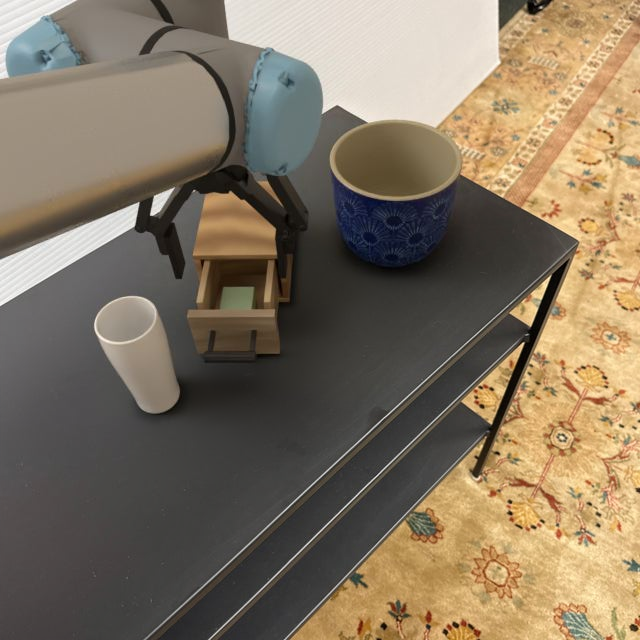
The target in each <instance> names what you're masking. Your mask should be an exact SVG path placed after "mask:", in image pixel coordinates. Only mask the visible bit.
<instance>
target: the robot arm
mask: <svg viewBox="0 0 640 640" xmlns="http://www.w3.org/2000/svg"><path fill="white" fill-rule="evenodd" d="M5 68H6V72H7V76H8V77H4V78H0V260H3V259H5V258H8V257H11V256H13V255H15V254H17V253H20V252H23V251H26V250H27V249H30V248H32V247H34V246H37V245H39V244H42V243H44V242H46V241H50V240H51V239H55V238H56V237H59V236H61V235H63V234H66V233H68V232H71V231H73V230H75V229H78V228H80V227H83V226H85V225H87V224H89V223H90V224H91V223H93V222H95V221H97V220H100V219H102V218H104V217H107V216H109V215H112V214H114V213H116V212H119V211H121V210H123V209H126V208H129V207H131V206H133V205H136V204H138V209H137V213H136V218H135V223H134V231H135V232H136V233H138V234H145V232H147V233H150V234H152V236H153V237H154V239H155V241H156V245H157V248H158V251H159V253H160V254H161V256H168V258H169V261H170V264H171V268H172V271H173V275H174V278H175V280H183V275H184V273H185V268H186V260H185V255H184V252H183V248H182V244H181V241H180V237H179V233H178V230H177V225H176V223H175V222H174V219H175V218H176V216H177V215H178V213H179V211H180V210H181V209H182V207H183V206H184V204H185V203H186V202H187V201H188V200H189V198H190V197H191V195H192V194H193V193H194V191H195V192H198V193H199V195H206V194H209V193H213V192H215V193H220V194H229V191H231V192H232V193H234V194H235V195H236V196H237V197H238V198H239V199H240V200H245V201H246V202H247V203H248V204H249V205H251V206H252V207H253V208H254V209H255V210H256V211H257V212H258V213H259V214H260V215H261V216H262V217H264V218H265V219H266V220H267V221H268V222H269V223H270V224H271V225H272V226H273V227H274V228H276V232H275V243H276V251H277V259H278V268H279V276H280V279H286V275H287V254H293V255H294V252H295V245H296V243H295V242H296V241H295V233H294V232H297V231H298V232H302V233H303V232H306V231H307V230H308V229H309V217H310V216H309V214H310V213H309V210H308V209H307V207H306V205H305V204H304V202H303V199H301V196H300V195H299V194H298V191H297V190H296V188H295V187H294V185H293V183H292V181H291V179H290V178H289V176H288V175H290V174H292V173H293V172H295V171H296V170H298V169H299V168H300V167H301V166H302V165H303V163H304V162H305V161H306V160H307V158H308V157H309V155H310V153H311V152H312V150H313V148H314V146H315V144H316V141H317V138H318V135H319V134H320V133H319V132H320V129H321V125H322V116H323V110H324V94H323V92H324V91H323V87H322V83H321V81H320V78H319V76H318V74H317V72H316V71H315V69H314V68H313V67H312V66H311V65H310V64H308V62H306V61H303V60H301V59H298V58H295V57H292V56H290V55H287V54H284V53H282V52H280V51H276V50H275V49H274V48H273V47H271V46H266V47H265V48H264V47H261V46H257V45H253V44H249V43H245V42H241V41H238V40H234V39H230V36H229V27H228V19H227V12H226V5H225V0H74V1H72V2H70V3H69V4H67V5H65V6H63V7H61V8H60V9H58V10H56V11H54V12H52V13H50V14H46V15H42V16H41V17H40V19H39V21H37V22H36V23H34V24H33V25H32V26H30V27H28V28H27V29H25V30H24V31H22V32H21V33H20V34H18V35H17V36H15V37H14V38H13V39H12V40H11V41H10V42H9V43H8V45H7V48H6V52H5ZM253 173H260V175H261V176H262V177H266V181H268V183H269V185H270V186H271V188H272V190H273V191H274V193H275V194H276V196H277V197H278V199H279V201H280V202H281V204H282V205H283V206H282V205H281V204H280V203H279V202H277V201H276V200H275V199H274V198H273V197H272V196H271V195H270V194H269V193H268V192H267V191H266V190H265V189H264V188H263V187H262V186H261V185H260V184H259V183H258V182H257V181H258V180H256V179H255V177H254V174H253ZM172 189H173V190H172ZM170 190H172V191H171V193H170V195H169V196H168V198H167V199H166V201H165V202H164V204H163V206H162V207H161V209H160V211H159V212H157V213H156V216H154V215H151V213H152V208H153V203H154V199H155V197H156V196H158V195H160V194H163V193H165V192H167V191H170Z"/></svg>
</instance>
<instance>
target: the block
mask: <svg viewBox="0 0 640 640" xmlns="http://www.w3.org/2000/svg"><path fill="white" fill-rule="evenodd" d="M236 309H258V305H257V300H256V294H255V288H254V287H223V291H222V298H221V304H220V310H236Z"/></svg>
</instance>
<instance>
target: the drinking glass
mask: <svg viewBox="0 0 640 640" xmlns="http://www.w3.org/2000/svg"><path fill="white" fill-rule="evenodd" d="M93 328H94V332H95V334H96V337H97V341H98V342H99V344H100V346H101V349H102V350H103V352H104V354H105V356H106V358H107V359H108V361H109V362H110V365H112V367H113V369H114V370H115V371H116V373H117V374H118V376H119V377H120V378H121V380H122V382H123V383H124V384H125V386H126V387H127V389H128V390H129V393H130V394H131V395H132V397H133V399H134V400H135V402H136V405H137V406H138V407H139V409H141V410H142V411H144V412H145V413H148V414H155V415H156V414H162V413H165V412H168V411H169V410H170V409H173V407H174V406H175V405H176V404H177V402H178V400H179V399H180V394H181V388H180V385H179V382H178V379H177V376H176V371H175V365H174V362H173V357H172V352H171V348H170V344H169V339H168V334H167V332H166V329H165V325H164V323H163V321H162V318H161V316H160V313H159V311H158V309H157V307H156V305H155V304H154V303H153V302H152V301H151V300H150V299H147V298H146V297H143V296H138V295H127V296H123V297H118V298H116V299H114V300H112V301H110V302H108V303H107V304H105V305H104V306H103V307H102V308H101V309H100V310H99V311H98V313H97V314H96V317H95V319H94V324H93Z"/></svg>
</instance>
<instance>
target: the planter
mask: <svg viewBox="0 0 640 640" xmlns="http://www.w3.org/2000/svg"><path fill="white" fill-rule="evenodd" d="M329 169H330V177H331V185H332V193H333V201H334V210H335V217H336V218H335V219H336V225H337V227H338V231H339V233H340V236H341V239H342V240H343V242H344V243H345V245H346V246H347V248H348V249H349V250H350V251H351V252H352V253H353V254H354V255H355V256H356V257H358V258H360V260H363V261H364V262H367V263H369V264H372V265H374V266H377V267H382V268H383V267H384V268H400V267H406V266H410V265H413V264H415V263H418V262H420V261H421V260H423V259H425V258H426V257H428V256H429V255H430V254H431V253H432V252H433V251H434V250H435V249H437V247H438V246H439V244H440V243H441V241H442V239H443V237H444V235H445V234H446V231H447V228H448V225H449V222H450V217H451V213H452V209H453V206H454V201H455V198H456V194H457V189H458V185H459V181H460V177H461V174H462V170H463V154H462V152H461V149H460V148H459V146H458V145H457V143H456V141H454V139H453V138H452V137H450V136H449V135H448V134H447V133H445V132H443V131H442V130H440V129H438V128H436V127H434V126H432V125H429V124H426V123H423V122H419V121H415V120H408V119H382V120H375V121H370V122H367V123H364V124H361V125H358V126H355V127H354V128H352V129H350V130H348V131H347V132H345V133H344V134H343V135H342V136H340V137H339V138H338V139H337V141H336V142H335V143H334V145H333V146H332V148H331V151H330V154H329Z"/></svg>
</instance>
